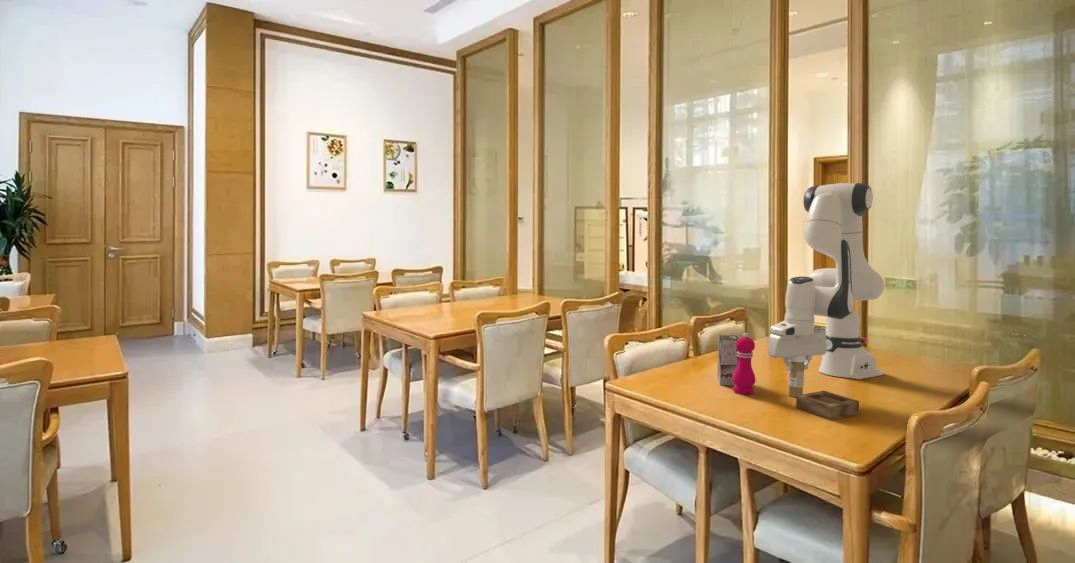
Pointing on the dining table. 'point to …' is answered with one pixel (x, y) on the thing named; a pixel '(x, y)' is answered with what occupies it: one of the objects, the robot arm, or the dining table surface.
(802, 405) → the walnut pedestal
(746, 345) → the pepper mill
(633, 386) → the dining table surface
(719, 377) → the coffee box
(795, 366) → the sprinkles bottle
